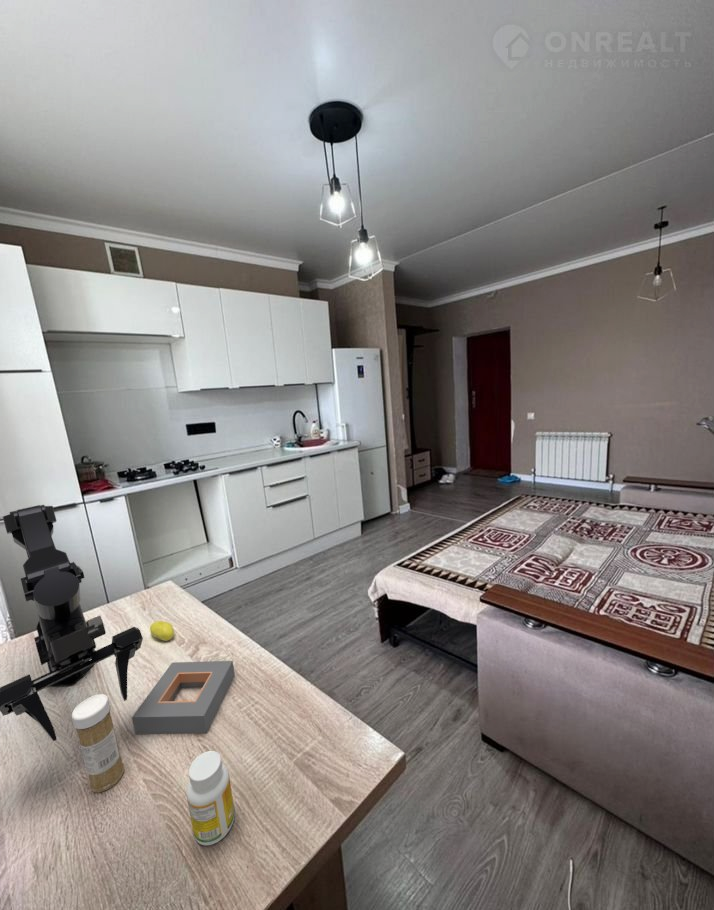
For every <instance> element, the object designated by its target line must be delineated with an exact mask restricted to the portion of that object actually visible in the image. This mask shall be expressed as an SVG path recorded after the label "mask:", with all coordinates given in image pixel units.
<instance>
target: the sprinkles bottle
mask: <svg viewBox="0 0 714 910" xmlns="http://www.w3.org/2000/svg"><path fill="white" fill-rule="evenodd" d="M71 721H72V725H73V727H74V728H75V730H76V733H77V737H78V740H79V741H78V742H79V745H80V749H81V754H82V757H83V761H84V765H85V770H86V772H87V775H88V779H89V783H90V784H89V786H90V790H91V791H92V792H94V793H102V792H105V791H107V790H109V789H110V788H112V787H113V786H115V785H116V784H117V782H119V780H120V779H121V778H122V776H123V774H124V771H125V764H124V763H123V759H122V755H121V751H120V750H121V749H120V745H119V740H118V735H117V733H116V729H115V726H114V723H113V718H112V715H111V705H110V700H109V697H108V696H107V695H106V694H104V693H102V694H101V693H100V694H94V695H92V696H89V697H87V698H85V699H84V700H82V701H81V702H79V703H78V704H77V705H76V706H75V708H73V710H72V713H71Z"/></svg>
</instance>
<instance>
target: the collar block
mask: <svg viewBox="0 0 714 910" xmlns="http://www.w3.org/2000/svg"><path fill="white" fill-rule="evenodd" d="M235 676H236V673H235V667H234V662H233V660H216V661H214V660H213V661H212V660H211V661H209V660H208V661H178V662H177V661H176V662H174V661H173V662H171V664H170V665H169V666H168V668H167V669H166V670H165V672H164V673H163V674H162V676H161V677H160V678H159V680H158V681H156V682H157V683H156V684H155V685H154V687H153V688H152V689H151V690H150V692H149V693H148V695H147V696H146V697H145V699H144V700H143V702H142V703H141V704H140V705H139V706H138V708H137V710H136V711H135V712H134V714H133V715H132V716H131V719H132V725H133V728H134V735H159V734H160V735H163V734H166V735H168V734H169V735H170V734H171V735H172V734H175V735H176V734H177V735H178V734H208V732H209V729H210V727H211V725H212V723H213V721H214V719H215V717H216V715H217V713H218V711H219V709H220V708H221V705H222V703H223V701H224V699H225V696H226V695H227V692H228V691H229V689H230V687H231V685H232V683H233V681H234V679H233V678H235ZM185 688H186V689H187V688H189V689H190V688H193V689H194V688H201V689H200V691H199V692H198V694H197V696H196V697H195V700H174V699H175V698H176V697H177V695H178V693H179V692H180V690H181V689H185Z"/></svg>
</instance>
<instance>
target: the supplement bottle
mask: <svg viewBox="0 0 714 910" xmlns="http://www.w3.org/2000/svg"><path fill="white" fill-rule="evenodd" d="M188 776H189V777H188V778H189V780H188V783H187V786H186V791H185V792H186V793H185V794H186V799H187V805H188V810H189V811H188V812H189V816H190V821H191V828H192V834H193V836H194V839H195V841H196V842H197V843H198V844H200V845H201V846H212V845H214V844H217V843H218V842H219V841H221V840H222V839H223V838H225V836H227V834H228V833H229V831H230V830H231V828H232V826H233V823H234V820H235V815H236V814H235V811H236V810H235V804H234V799H233V798H234V797H233V793H232V792H233V791H232V784H231V779H230V772H229V769H228V768H227V766H226V765H225V764H224V763H223V761H222V758H221V755H220V753H219V752H217V751H215V750H208V751H205V752H202V753H200V754H199V755H198V756H196V758H194V759H193V761H192V762H191V764H190V766H189V770H188Z"/></svg>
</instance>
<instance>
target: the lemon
mask: <svg viewBox="0 0 714 910" xmlns="http://www.w3.org/2000/svg"><path fill="white" fill-rule="evenodd" d="M149 630H150V634H151V636H152V637H154V638H156V639H158V640H162V641H164V642H165V641H167V642H168V641H170V640H172V639H173V637H174V635H175V630H174V626H173V624H172V623H170V622H168V621H163V620H156V621H154V622H152V623H151V624H150V627H149Z"/></svg>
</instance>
